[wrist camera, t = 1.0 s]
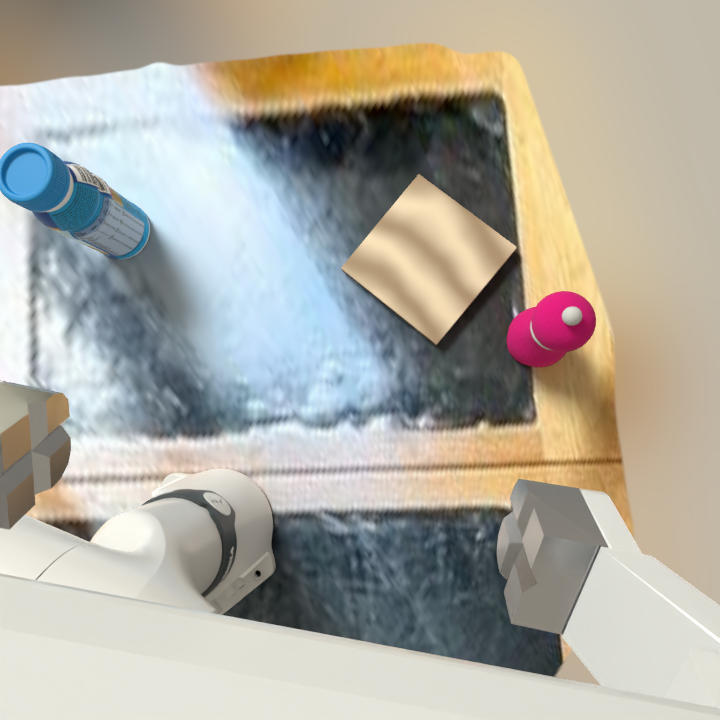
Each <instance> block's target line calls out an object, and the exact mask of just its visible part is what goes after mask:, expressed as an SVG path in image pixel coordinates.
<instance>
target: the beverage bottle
mask: <svg viewBox="0 0 720 720" xmlns="http://www.w3.org/2000/svg"><path fill="white" fill-rule="evenodd" d="M0 191H1V192H2V193H3V195H4V196H5V197H7V198H8V199H9V200H10V201H12V202H14V203H16V204H18V205H20V206H21V207H24V208H26V209H28V210H30V211H32V212H33V214H34V215H35V216H36V217H37V219H38V220H39V221H40V222H41V223H43V224H44V225H45V226H47V227H49V228H51V229H54V230H55V231H56V232H58V233H59V234H61V235H63V236H65V237H67V238H70V239H74V240H76V241H78V242H80V243H82V244H84V245H86V246H88V247H90V248H92V249H95V250H97V251H99V252H101V253H102V254H104V255H106V256H108V257H110V258H113V259H128V258H131V257H133V256H135V255H137V254H138V253H139V252H140V251H141V250H142V249H143V248H144V247H145V245H146V243H147V241H148V239H149V235H150V224H149V220H148V218H147V216H146V214H145V213H144V212H143V211H142V210H141V209H140V208H139V207H138V206H136V205H135V204H133V203H131V202H130V201H128V200H127V199H125V198H124V197H122V196H121V195H120V194H118V193H117V192H116V191H114V190H113V189H111V188H110V187H109V186H108V185H107V184H106V182H105V181H104V180H102V179H101V178H100V177H98V176H97V175H95V174H93V173H91V172H89V171H88V170H87V169H86V168H84V167H82V166H80V165H78V164H75V163H72V162H67V161H62V160H61V159H60V158H59V157H57V156H56V155H55V154H53V153H52V152H50V151H49V150H48V149H46V148H44V147H42V146H40V145H38V144H34V143H22V144H18V145H16V146H14V147H12V148H10V149H9V150H8V151H7V152H6V153H5V154H4V155H3V156H2V158H1V160H0Z"/></svg>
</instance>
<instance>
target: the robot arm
mask: <svg viewBox="0 0 720 720" xmlns="http://www.w3.org/2000/svg"><path fill="white" fill-rule="evenodd" d="M68 418H69V404H68V399H67V398H66V397H65V396H64V394H63V393H59V392H54V391H49V390H44V389H39V388H35V387H30V386H25V385H20V384H15V383H10V382H6V381H2V380H0V720H720V606H719V605H718V604H717V603H715V602H714V601H713V600H711V599H710V598H708V597H707V596H706V595H704V594H703V593H701V592H700V591H699V590H698V589H696V588H695V587H693V586H692V585H690V584H689V583H688V582H687V581H685V580H684V579H682V578H681V577H680V576H678V575H677V574H676V573H674V572H673V571H672V570H670V569H669V568H667V567H666V566H665V565H663V564H662V563H661V562H659V561H658V560H657V559H655V558H654V557H652V556H649V555H643V554H642V552H641V551H640V549H639V547H638V545H637V544H636V542H635V540H634V538H633V537H632V535H631V533H630V531H629V530H628V528H627V526H626V525H625V523H624V521H623V519H622V518H621V516H620V514H619V512H618V511H617V509H616V507H615V506H614V504H613V502H612V500H611V499H610V497H609V496H608V495H607V494H605V493H604V492H600V491H593V490H586V489H579V488H573V487H567V486H560V485H554V484H548V483H542V482H535V481H529V480H522V479H519V480H518V481H517V483H516V484H515V486H514V489H513V491H512V494H511V497H510V500H511V503H512V507H513V510H514V511H513V512H512V513H510V514H509V515H508V516H506V517H505V518H504V519H503V521H502V525H501V528H500V532H499V536H498V544H497V561H498V566H499V571H500V573H501V574H502V575H503V576H504V577H505V578H506V579H507V580H508V582H507V585H506V587H505V590H504V594H505V599H506V603H507V607H508V612H509V616H510V620H511V624H516V625H520V626H525V627H530V628H534V629H539V630H543V631H548V632H553V633H557V634H562V635H563V636H562V637H563V639H564V640H565V641H566V642H567V644H568V645H569V646H570V647H571V649H572V650H573V651H574V652H575V654H576V655H577V656H578V657H579V658H580V660H581V661H582V662H583V664H584V665H585V666H586V667H587V668H588V670H589V671H590V672H591V673H592V675H593V676H594V677H595V678H596V680H597V681H598V682H599V683H600V685H601V686H599V685H593V684H588V683H583V682H577V681H573V680H567V679H562V678H556V677H551V676H546V675H540V674H535V673H530V672H524V671H519V670H514V669H508V668H503V667H498V666H492V665H487V664H482V663H476V662H471V661H466V660H460V659H455V658H450V657H444V656H439V655H434V654H428V653H423V652H417V651H412V650H407V649H401V648H396V647H391V646H385V645H380V644H375V643H369V642H364V641H359V640H353V639H348V638H343V637H337V636H332V635H327V634H321V633H316V632H311V631H305V630H300V629H295V628H289V627H284V626H278V625H273V624H268V623H262V622H257V621H252V620H246V619H241V618H236V617H230V616H225V615H223V614H224V613H226V612H227V611H228V610H229V609H231V608H232V607H233V606H234V605H235V604H237V603H238V602H239V601H240V600H242V599H243V598H244V597H245V596H246V595H248V594H249V593H250V592H251V591H253V590H254V589H255V588H256V587H258V586H259V585H260V584H261V583H262V582H264V581H265V580H266V579H267V578H269V577H270V576H271V575H272V574H273V573H274V571H275V568H276V564H275V559H274V555H273V551H272V548H271V541H272V533H273V518H272V512H271V508H270V505H269V502H268V500H267V498H266V496H265V494H264V493H263V491H262V490H261V489H260V487H259V486H258V485H257V484H256V483H255V482H254V481H252V480H251V479H250V478H248V477H247V476H245V475H243V474H241V473H239V472H237V471H233V470H229V469H210V470H206V471H203V472H199V473H196V474H187V473H172V474H170V475H168V476H167V477H166V478H165V479H164V481H163V483H162V485H161V487H160V488H158V489H156V490H155V491H154V492H153V493H152V495H153V497H152V498H151V499H150V500H148V501H147V502H145V503H144V504H143V505H141V506H139V507H136V508H133V509H130V510H127V511H124V512H121V513H119V514H117V515H115V516H114V517H112V518H111V519H109V520H108V521H107V522H106V523H105V524H104V525H103V526H102V527H101V528H100V529H99V530H98V531H97V533H96V534H95V535H94V537H93V538H92V540H91V541H90V542H88V541H86V540H83V539H81V538H79V537H76V536H74V535H72V534H69V533H67V532H65V531H62V530H60V529H58V528H55V527H53V526H51V525H48V524H46V523H44V522H41V521H39V520H37V519H34V518H32V517H30V516H27V515H25V514H26V513H27V512H28V511H29V510H30V509H31V508H32V507H33V506H34V505H35V494H37V493H40V492H43V491H45V490H48V489H51V488H52V487H53V486H54V485H55V484H56V483H57V482H58V480H59V479H60V478H61V477H62V475H63V473H64V471H65V469H66V467H67V465H68V462H69V456H70V451H71V442H70V437H69V435H68V434H67V433H66V431H65V430H64V428H63V427H62V426H61V425H62V424H63V423H64V422H65V421H66V420H67V419H68ZM257 570H258V571H260V572H261V576H258V575H257V574H256V571H257Z"/></svg>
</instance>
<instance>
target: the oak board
mask: <svg viewBox="0 0 720 720" xmlns="http://www.w3.org/2000/svg"><path fill="white" fill-rule="evenodd" d="M516 248H517V247H516V246H514V245H513V244H512V243H510V242H509V241H508V240H506V239H505V238H504V237H502V236H501V235H500V234H498V233H497V232H496V231H494V230H493V229H492V228H490V227H489V226H488V225H486V224H485V223H484V222H482V221H481V220H480V219H478V218H477V217H476V216H474V215H473V214H472V213H470V212H469V211H468V210H466V209H465V208H464V207H462V206H461V205H460V204H458V203H457V202H456V201H454V200H453V199H452V198H450V197H449V196H448V195H446V194H445V193H443V192H442V191H441V190H439V189H438V188H437V187H435V186H434V185H433V184H431V183H430V182H429V181H427V180H426V179H425V178H423V177H422V176H421V175H419V174H418V176H417V177H416V178H415V179H414V180H413V182H412V183H411V184H410V185H409V186H408V188H407V189H406V190H405V191H404V192H403V194H402V195H401V196H400V197H399V199H398V200H397V201H396V202H395V203H394V205H393V206H392V207H391V208H390V209H389V211H388V212H387V213H386V214H385V215H384V217H383V218H382V219H381V220H380V222H379V223H378V224H377V225H376V226H375V228H374V229H373V230H372V231H371V232H370V234H369V235H368V236H367V237H366V238H365V240H364V241H363V242H362V243H361V245H360V246H359V247H358V248H357V249H356V251H355V252H354V253H353V254H352V255H351V257H350V258H349V259H348V260H347V261H346V263H345V264H344V265H343V266H342V268H341V269H342V271H343V272H345V273H346V274H347V275H348V276H350V277H351V278H352V279H353V280H355V281H356V282H357V283H358V284H360V285H361V286H362V287H363V288H365V289H366V290H367V291H368V292H370V293H371V294H372V295H373V296H375V297H376V298H377V299H378V300H380V301H381V302H382V303H383V304H385V305H386V306H387V307H388V308H390V309H391V310H392V311H393V312H395V313H396V314H397V315H398V316H400V317H401V318H402V319H403V320H405V321H406V322H407V323H408V324H410V325H411V326H412V327H413V328H415V329H416V330H417V331H418V332H420V333H421V334H422V335H423V336H425V337H426V338H427V339H428V340H430V341H431V342H432V343H433V344H435V345H436V346H437V344H438V343H439V342H440V341H441V340H442V338H443V337H444V336H445V335H446V333H447V332H448V331H449V330H450V329H451V327H452V326H453V325H454V324H455V323H456V321H457V320H458V319H459V318H460V317H461V315H462V314H463V313H464V312H465V310H466V309H467V308H468V307H469V306H470V304H471V303H472V302H473V301H474V300H475V298H476V297H477V296H478V295H479V293H480V292H481V291H482V290H483V289H484V287H485V286H486V285H487V284H488V283H489V281H490V280H491V279H492V278H493V277H494V275H495V274H496V273H497V272H498V270H499V269H500V268H501V267H502V266H503V264H504V263H505V262H506V261H507V260H508V258H509V257H510V256H511V255H512V254H513V252H514V251H515V250H516Z"/></svg>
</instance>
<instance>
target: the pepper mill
mask: <svg viewBox="0 0 720 720" xmlns="http://www.w3.org/2000/svg"><path fill="white" fill-rule="evenodd" d="M595 326H596V317H595V312H594V310H593V308H592V306H591V304H590V303H589V302H588V301H587V300H586V299H585V298H584V297H582V296H581V295H579V294H577V293H573V292H568V291H561V292H556V293H553V294H550V295H548V296H546V297H545V298H543V299H542V300H541V301H540V302H539V303H538V304H537V306H536V307H533V308H530V309H527V310H525V311H523V312H521V313H520V314H518V315H517V316H516V317H515V318H514V320H513V321H512V323H511V325H510V327H509V330H508V336H507V347H508V350H509V352H510V354H511V355H512V357H513V358H514V359H515V360H517V361H518V362H519V363H521V364H524V365H528V366H532V367H546V366H550V365H552V364H554V363H556V362H557V361H559V360H560V359H561V358H562V357H563V356H564V355H565V354H566V352H568V351H573V350H576V349H578V348H580V347H582V346H583V345H584V344H585V343H586V342H587V341H588V340H589V339H590V338H591V336H592V334H593V332H594V330H595Z"/></svg>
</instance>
